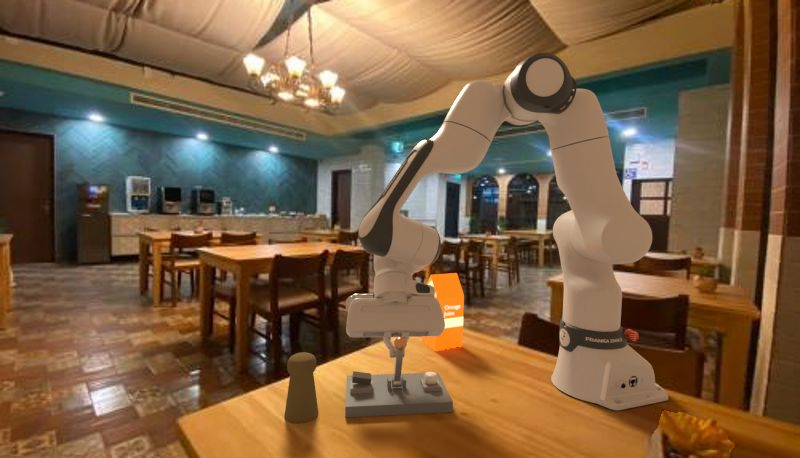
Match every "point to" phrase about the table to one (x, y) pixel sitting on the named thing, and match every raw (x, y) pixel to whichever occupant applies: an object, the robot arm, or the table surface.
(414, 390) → the control panel
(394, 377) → the copper ball joystick
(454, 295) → the orange juice
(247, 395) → the table surface
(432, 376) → the push button
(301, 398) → the brown pawn
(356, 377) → the rocker switch
